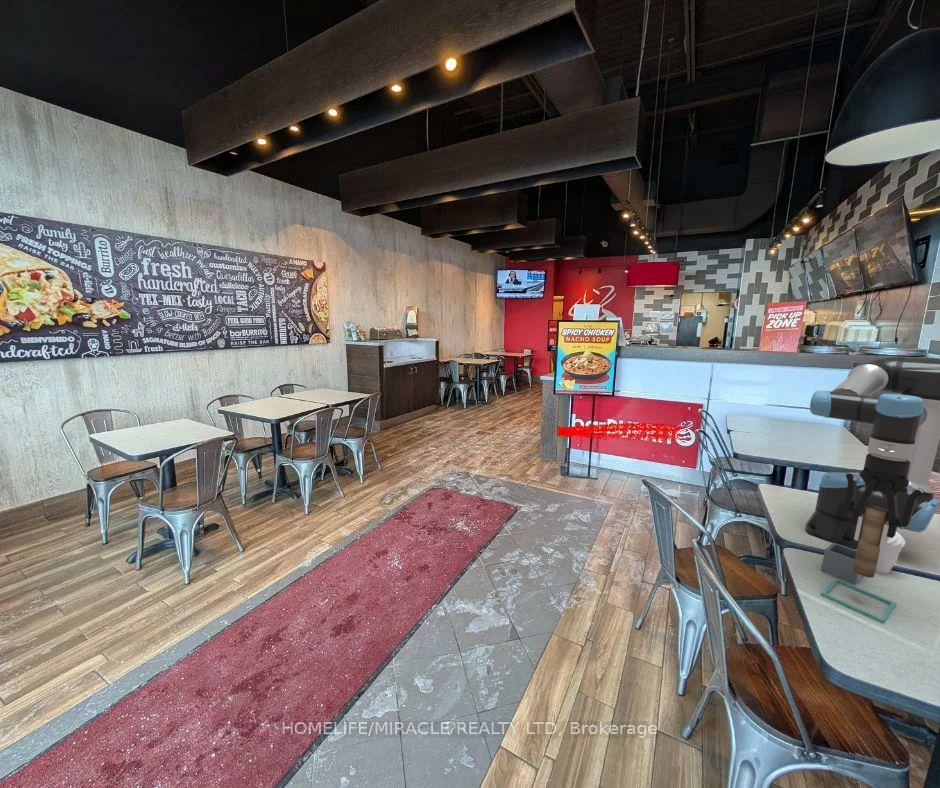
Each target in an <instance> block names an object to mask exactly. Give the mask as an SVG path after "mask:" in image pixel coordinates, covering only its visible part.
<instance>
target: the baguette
mask: <svg viewBox="0 0 940 788" xmlns="http://www.w3.org/2000/svg"><path fill="white" fill-rule="evenodd" d="M887 517H888V510H886V509H884V508H881V507H877V506H872V505H867V506H866V508H865V513H864V518H863V523H862V528H861V532H860V537H859V542H858V546H857V548H856V556H855V561H854V565H853V571H854V572H855V573H857V574H859V575H862V576H864V577H865V578H869V579H871V578H872V579H873V578H874V577H875V574H876V566H877V562H878V557H879V553H880V548H879V546H880V542H881V537H882V532H883V528H884V524H885V523H886V521H887Z"/></svg>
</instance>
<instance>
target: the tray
mask: <svg viewBox="0 0 940 788" xmlns="http://www.w3.org/2000/svg"><path fill="white" fill-rule="evenodd" d="M838 584H839V585H841V586H844V587H846V588H848V589H850V590H853V591H856V592H858V593H860V594H863V595H865V596H868V597H870V598H872V599H874V600H877V601H878V602H882V603H884V604H886V605H888V606H887V608H886V609H885V611H884V612H883V613H882V615H881V616H878V615H876V614H873V613H871V612H869V611H866V610H864V609H862V608H859V607H858V606H855V605H853V604H850V603H848V602H846V601H844V600H842V599H839V598H837V597H835V596H832V595H830V592H831V591H832V590H833V589H834V588H836V586H837V585H838ZM819 596H821V597H822V598H825V599H826V600H829V601H831V602H834V603H836V604H839V605H840V606H843V607H845V608H847V609H850V610H852V611H854V612H856V613H858V614H860V615H862V616H865V617H867V618H869V619H871V620H873V621H876V622H878V623H879V624H882V625H884V624H885V623H886V621H887V620H888V619H889V617H891V616H890V615H891V614H892V613H893V611H894V609H895V608H896V606H897V603H896V602H895V601H892V600H889V599H887V598H885V597H882V596H881V595H878V594H875V593H873V592H871V591H868V590H866V589H863V588H860V587H859V586H857V585H856V586H855V585H853V584H851V583H848V582H846V581H843V580H841V579H839V578H836V577H834V579H833V580H832V581H831V582H830V583H829V584H827V586H826V587H825V588H824V589H823V590H822V591H821V592H820V595H819Z"/></svg>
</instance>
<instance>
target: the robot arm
mask: <svg viewBox="0 0 940 788" xmlns="http://www.w3.org/2000/svg"><path fill="white" fill-rule="evenodd" d="M876 392H887V393H883V394H881V395H879V396H873V394H874V393H876ZM809 403H810V404H809V411H810V413H811V414H812V415H814V416H817V417H818V416H819V417H823V418H829V419H834V420H835V419H836V420H844V421H850V422H856V423H861V424H862V423H863V424H870V425H872V429H871V433H870V437H869V442H868V446H867V452H868V453H867V454H866V456H865V460H864V465H863V469H862V470H860V472H853V471H851V472H839V471H837V472H836V471H835V472H834V471H833V472H832V471H831V472H826V473H825V474H823V475H822V476H821V478H820V483H819V485H818V486H819V487H818V488H819V489H818V494H817V500H816V504H815V510H814V512H813V513H812V515H811V516H810V517H809V519H808V520H807V521H806V522H805V523H806V524H805V528H804V529H805V532H806V533H807V534H809V535H810V536H812V537H814V538H817V539H821V540H823V541H826V542H828V543H831V544H832V543H833V542H834V543H837V544H840V545H842V546H845V547H848V548H851V549H857V546H858V542H859V537H860V532H861V528H862V523H863V518H864V513H865V508H866V506H867V505H872V506H877V507H881V508H884V509H886V510H888V517H887V521H886V523H885V524H884V528H883V532H882V537H881V542H880V546H879V548H880V549H884V548H885V547H886V545H887V540H888V537H890V538H893V537H894V536H895V534H896V531H897V529H898V528H899V529H900V530H907V531H909V532H914V533H923V532H924V531H926V529H928V526H929V524H930V523H931V520H932V519H933V517H934V515H935V513H936V511H937V509H938V506H939V504H940V500H939V499H938V498H937V497H934V495H935V491H933V490H932V488H931V487H930V486H929V482H930V478H931V475H932V470H933V466H934V463H935V462H934V461H935V459H936V455H937V451H938V447H939V443H940V358H928V357H927V358H925V357H924V358H921V357H901V356H891V357H890V356H889V357H887V356H886V357H880V358H876V359H872V360H868V361H865V362H862V363H860V364H857V365H856V366H854V367H853V368H851V370H849V372H848V374H847V376H846V379H845V380H844V381H842V382H841V383H840V384H838V385H837V386H836V387H835V388H834V389H833V390H831V391H830V390H816V391H814V393H813V394H812V395H811V398H810V402H809Z"/></svg>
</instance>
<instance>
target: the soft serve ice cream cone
mask: <svg viewBox="0 0 940 788" xmlns="http://www.w3.org/2000/svg"><path fill="white" fill-rule="evenodd" d="M905 545H906V540H905V538H904V537H903V536H902V535H901V533H899V532H898V531H897V530H896V534H895V536H894V537H893V538H890V537H888V540H887V545H886V547H885V548H884V549H880V553H879V557H878V562H877V566H876V571H875V573H876V572H877V573H880V574H887V575H888V574H890V572H891V571H892V569H893V567H894V565H895V564H896V563H897V562H898V559H899V555H900V553H901V552H902V549H903V548H904V547H905Z"/></svg>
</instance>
